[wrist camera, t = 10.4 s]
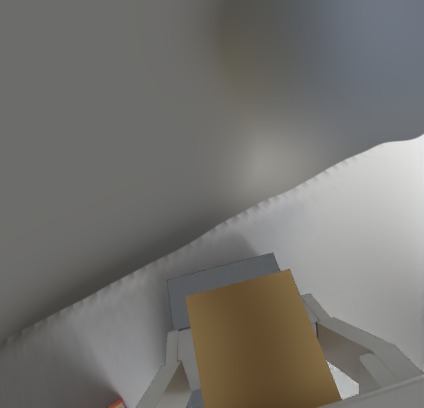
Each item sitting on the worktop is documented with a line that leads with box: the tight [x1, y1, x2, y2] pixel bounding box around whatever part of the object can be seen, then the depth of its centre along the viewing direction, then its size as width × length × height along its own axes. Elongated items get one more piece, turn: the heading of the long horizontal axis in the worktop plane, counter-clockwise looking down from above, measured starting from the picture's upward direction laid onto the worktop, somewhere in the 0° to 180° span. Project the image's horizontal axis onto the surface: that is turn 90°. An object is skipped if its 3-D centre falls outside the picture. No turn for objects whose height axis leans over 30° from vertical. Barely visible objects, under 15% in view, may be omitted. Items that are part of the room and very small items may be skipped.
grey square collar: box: [167, 253, 280, 408], centre depth 23 cm, size 12×12×5 cm
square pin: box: [185, 269, 342, 408], centre depth 11 cm, size 4×4×8 cm
